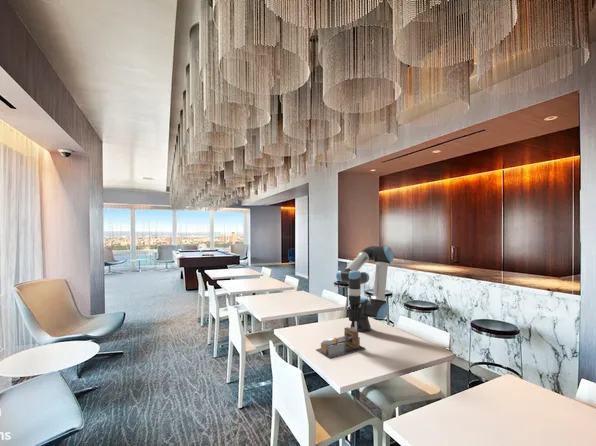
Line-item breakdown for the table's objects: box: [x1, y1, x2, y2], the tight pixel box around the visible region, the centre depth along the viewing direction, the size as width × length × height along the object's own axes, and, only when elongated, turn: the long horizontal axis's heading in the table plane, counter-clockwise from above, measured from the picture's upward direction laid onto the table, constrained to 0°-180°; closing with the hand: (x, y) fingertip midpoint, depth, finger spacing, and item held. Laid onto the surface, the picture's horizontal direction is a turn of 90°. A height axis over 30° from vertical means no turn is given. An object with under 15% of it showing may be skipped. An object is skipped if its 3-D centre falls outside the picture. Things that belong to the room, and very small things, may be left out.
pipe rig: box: [315, 335, 366, 359], centre depth 183 cm, size 28×14×8 cm, turn 121°
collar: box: [343, 326, 359, 349], centre depth 187 cm, size 3×10×10 cm, turn 31°
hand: (354, 331), depth 189 cm, fingers closed
